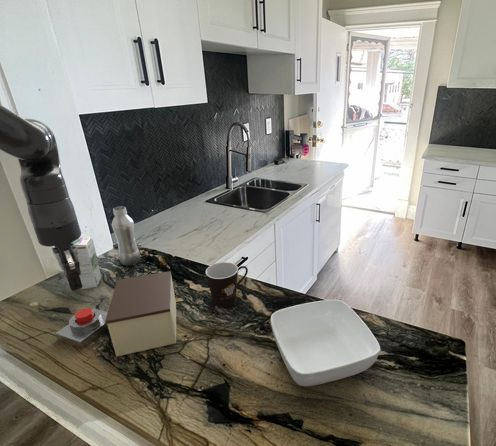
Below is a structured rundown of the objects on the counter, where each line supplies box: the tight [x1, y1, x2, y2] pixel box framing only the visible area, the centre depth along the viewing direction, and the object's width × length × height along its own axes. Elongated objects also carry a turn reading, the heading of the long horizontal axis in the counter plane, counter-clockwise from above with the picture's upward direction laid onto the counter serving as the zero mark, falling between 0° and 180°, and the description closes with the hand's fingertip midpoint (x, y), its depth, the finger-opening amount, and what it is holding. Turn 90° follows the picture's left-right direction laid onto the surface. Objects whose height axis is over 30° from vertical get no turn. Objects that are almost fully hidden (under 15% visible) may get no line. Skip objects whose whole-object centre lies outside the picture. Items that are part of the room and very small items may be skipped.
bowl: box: [270, 299, 381, 387], centre depth 70 cm, size 20×20×8 cm
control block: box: [54, 307, 109, 350], centre depth 77 cm, size 10×8×4 cm
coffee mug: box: [205, 261, 249, 308], centre depth 88 cm, size 12×9×10 cm
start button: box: [74, 307, 94, 324], centre depth 76 cm, size 4×4×2 cm
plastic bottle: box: [111, 205, 141, 266], centre depth 103 cm, size 6×7×20 cm
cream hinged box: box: [107, 275, 177, 357], centre depth 77 cm, size 16×13×10 cm
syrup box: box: [72, 236, 103, 291], centre depth 93 cm, size 6×6×14 cm
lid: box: [105, 270, 172, 324], centre depth 74 cm, size 16×13×1 cm
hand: (76, 288), depth 73 cm, fingers closed
